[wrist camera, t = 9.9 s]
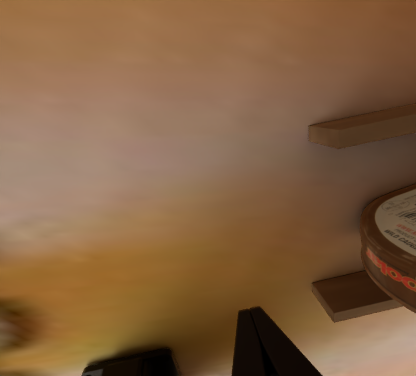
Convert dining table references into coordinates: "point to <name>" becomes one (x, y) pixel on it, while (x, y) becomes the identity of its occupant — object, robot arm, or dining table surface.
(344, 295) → the tray frame
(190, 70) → the dining table surface
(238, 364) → the robot arm
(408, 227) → the tin
